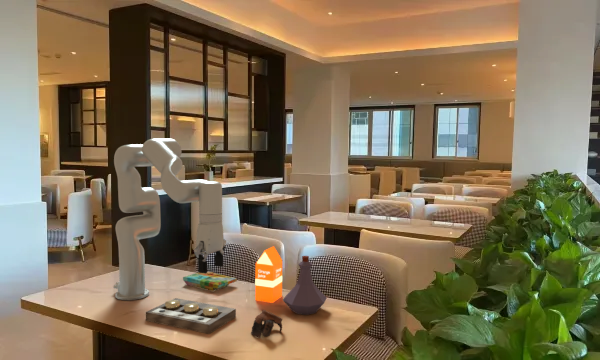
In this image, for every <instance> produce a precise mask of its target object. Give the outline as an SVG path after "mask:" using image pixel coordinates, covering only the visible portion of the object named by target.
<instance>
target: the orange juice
mask: <svg viewBox="0 0 600 360" xmlns="http://www.w3.org/2000/svg"><path fill="white" fill-rule="evenodd" d="M254 272H255V277H254V278H255V279H254V280H255V281H254V284H255V285H254V287H255V299H254V300H255V301H258V302H265V303H270V304H273V303H275V302H277V300H279V299H280V298H282V296H283V259H282V258H281V255H280V254H279V252H278V251H277V249H276V247H275V246H274V245H273V246H271V247H269V248H267V249H264V251H263V253H262V254H261V256H260V257H259V258H258V260H257V261H256V262H255V271H254Z"/></svg>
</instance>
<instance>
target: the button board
mask: <svg viewBox="0 0 600 360" xmlns="http://www.w3.org/2000/svg"><path fill="white" fill-rule="evenodd" d="M172 300H178V301H180V308H179V309H177V310H175V311H172V310H167V309H165V302H164V303H162V304H159V305H158V306H156V307H153V308H151V309H149V310H146V311H145V321H147V322H152V323H157V324H161V325H166V326H170V327H175V328H180V329H185V330H188V331H195V332H199V333H203V334H207V335H209V334H211V333H213V332H214V331H216V330H218V329H219V328H220V327H223V326H224V325H226V324H227V323H229V322H230V321H232V320H234V319H235V318H237V312H236V311H237V309H236V308H233V307H227V306H221V305H216V304H211V303H206V302H201V301H200V302H199V301H194V300H189V299H183V298H179V297H178V298H177V297H176V298H173V299H172ZM191 303H195V304H198V305H199V312H197V313H195V314H193V315H192V314H187V313H184V305H186V304H191ZM207 307H216V308H218V316H216V317H215V318H208V317H203V309H204V308H207Z"/></svg>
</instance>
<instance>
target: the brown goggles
mask: <svg viewBox="0 0 600 360" xmlns="http://www.w3.org/2000/svg"><path fill="white" fill-rule="evenodd" d="M282 322H283V318H281V317H280V316H278V315H275V314H274V313H273V312H269V311H267V310H263V309H262V310H261V312H260V313H258V315H256V317H255V318H254V321H253V325H252V327H251V331H250V333H251V334H252V335H253V336H254V337H257V338H258V339H261V338H262V337H261V336H262V335H263V337H270V335H271V334H272V330H273V328H274V327H275V326H274V325H275V324H276V325H277V326H278V327H279V330H278V331H279V333H282V331H283V323H282Z"/></svg>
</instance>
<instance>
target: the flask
mask: <svg viewBox="0 0 600 360" xmlns="http://www.w3.org/2000/svg"><path fill="white" fill-rule="evenodd" d="M309 259H310V257H309V255H302V256H301V261H300V262H299V263H298V267H299V268H300V270H299V276H298V279H297V281H296V284H295V285H294V287H292V289H291V290H289V291H288V293H287V294H286V295H285V297H283V298H282V301H283V302H284V303H285V305H286V306H287V307H288V308H289V309H290V310H291V311H292V312H294V313H295V314H297V315H306V316H308V315H312V314H316V313H317V312H318V311H319V310H320V309H321V307H322V306H323V305H324V304H325V302H326V300H327V296H326V295H325V294H324V293H323V292H322V290H320V289H319V288H318V287H317V286H316V285H315V283H314V281H313V280H314V279H313V276H312V274H311V272H312V271H311V268H312V265H313V263H312V262H311V261H309Z"/></svg>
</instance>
